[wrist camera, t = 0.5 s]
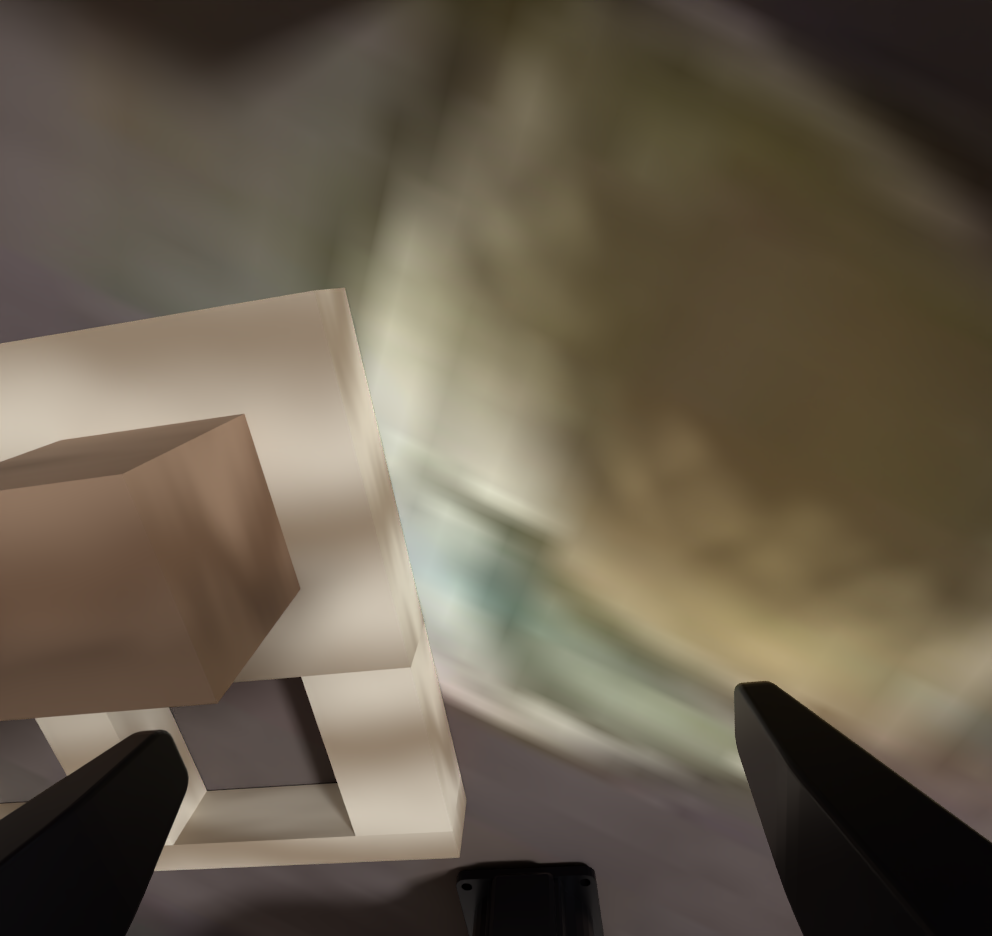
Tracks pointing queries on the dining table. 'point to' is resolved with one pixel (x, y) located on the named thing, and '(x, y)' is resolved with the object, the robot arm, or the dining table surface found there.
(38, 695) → the walnut block
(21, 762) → the dining table surface
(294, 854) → the trap deck
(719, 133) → the dining table surface
